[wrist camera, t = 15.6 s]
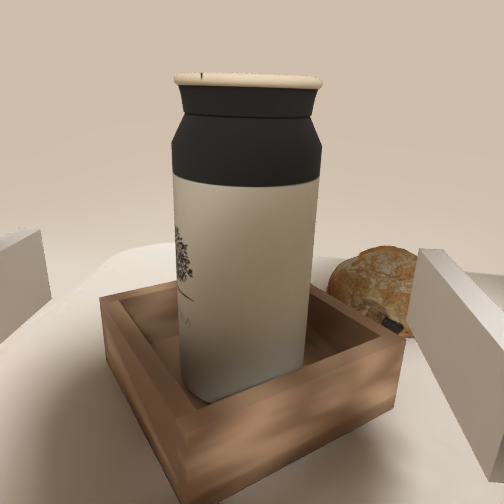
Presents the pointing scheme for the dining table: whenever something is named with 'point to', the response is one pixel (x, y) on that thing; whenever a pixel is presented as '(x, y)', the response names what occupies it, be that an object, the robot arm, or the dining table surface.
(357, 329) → the walnut crate
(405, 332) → the bread roll
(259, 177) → the travel mug
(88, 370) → the dining table surface
